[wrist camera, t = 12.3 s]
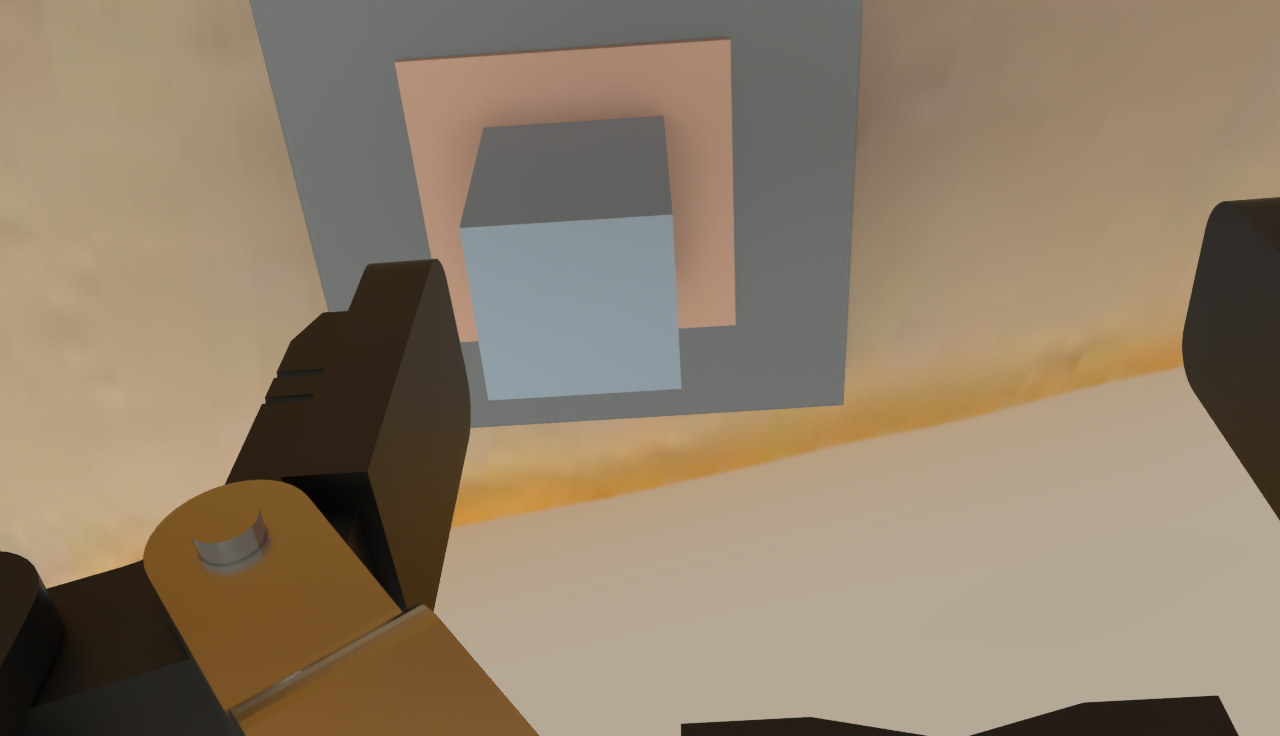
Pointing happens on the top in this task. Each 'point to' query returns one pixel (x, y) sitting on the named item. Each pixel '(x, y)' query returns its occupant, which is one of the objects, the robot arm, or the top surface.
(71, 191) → the top surface
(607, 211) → the slate block
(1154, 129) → the top surface
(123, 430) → the top surface
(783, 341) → the base plinth
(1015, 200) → the top surface
